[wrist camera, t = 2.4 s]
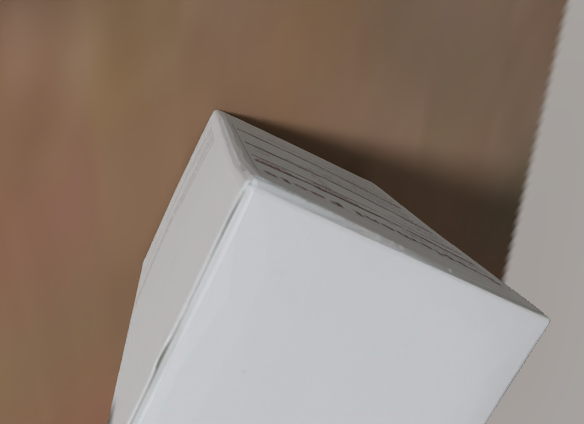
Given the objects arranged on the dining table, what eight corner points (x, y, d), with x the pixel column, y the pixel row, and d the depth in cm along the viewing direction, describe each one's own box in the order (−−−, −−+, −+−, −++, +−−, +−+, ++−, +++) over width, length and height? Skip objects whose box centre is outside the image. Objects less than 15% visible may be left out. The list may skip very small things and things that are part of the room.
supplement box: (296, 326, 25) (390, 590, 13) (138, 263, 23) (74, 508, 11) (377, 180, 23) (567, 323, 11) (216, 99, 21) (242, 171, 9)
